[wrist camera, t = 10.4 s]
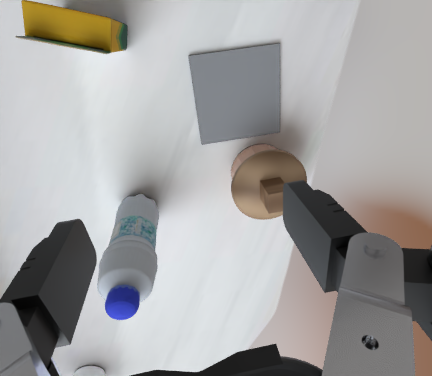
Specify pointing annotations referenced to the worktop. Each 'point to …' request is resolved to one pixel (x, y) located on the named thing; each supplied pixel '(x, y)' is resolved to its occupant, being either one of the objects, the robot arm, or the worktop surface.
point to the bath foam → (90, 371)
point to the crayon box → (72, 28)
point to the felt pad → (237, 92)
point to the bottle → (129, 258)
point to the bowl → (248, 155)
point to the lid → (265, 182)
